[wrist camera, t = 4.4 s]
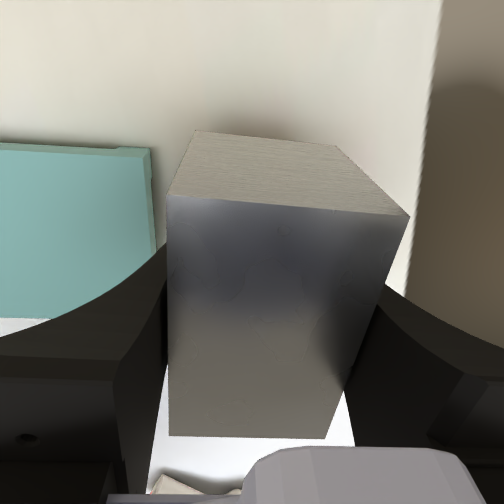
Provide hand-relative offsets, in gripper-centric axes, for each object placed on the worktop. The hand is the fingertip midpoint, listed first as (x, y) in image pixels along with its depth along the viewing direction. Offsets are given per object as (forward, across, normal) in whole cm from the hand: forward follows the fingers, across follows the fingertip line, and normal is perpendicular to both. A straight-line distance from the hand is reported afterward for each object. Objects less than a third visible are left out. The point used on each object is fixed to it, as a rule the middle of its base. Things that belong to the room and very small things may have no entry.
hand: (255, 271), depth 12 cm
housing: (+2, 0, 0) cm, 2 cm away
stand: (+8, +10, +3) cm, 13 cm away
